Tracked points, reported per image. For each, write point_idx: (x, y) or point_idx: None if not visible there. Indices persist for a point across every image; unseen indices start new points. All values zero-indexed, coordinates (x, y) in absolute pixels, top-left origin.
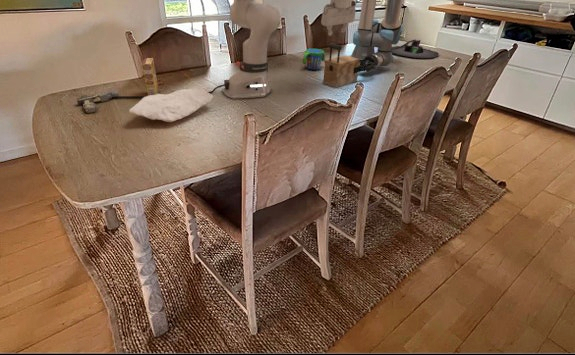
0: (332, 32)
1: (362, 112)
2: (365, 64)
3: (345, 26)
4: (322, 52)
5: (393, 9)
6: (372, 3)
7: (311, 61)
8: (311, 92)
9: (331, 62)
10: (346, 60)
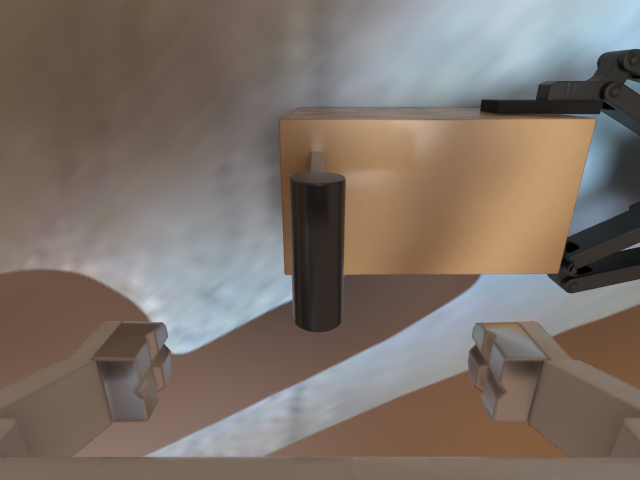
0: (141, 408)
1: (168, 454)
2: (625, 237)
3: (592, 452)
4: None
5: None
6: None
7: None
8: (119, 191)
9: (282, 206)
10: (433, 241)
